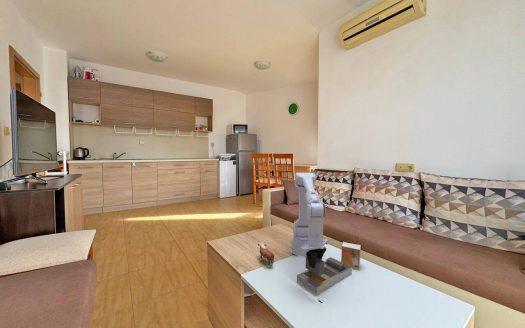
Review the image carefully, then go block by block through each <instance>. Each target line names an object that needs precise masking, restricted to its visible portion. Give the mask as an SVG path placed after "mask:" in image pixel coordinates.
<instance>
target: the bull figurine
mask: <svg viewBox="0 0 525 328" xmlns="http://www.w3.org/2000/svg"><path fill="white" fill-rule="evenodd" d="M257 246H259V253H260V255H259V256H260V259H259V262H261V261H263V258H264V261H265V262H266V261H267V269H270V266H271V265H274V263H275V253H274V252H272V251H271V250H270V249H269V248H267V243H264V242H260V243H257Z"/></svg>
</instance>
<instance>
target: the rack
mask: <svg viewBox="0 0 525 328" xmlns="http://www.w3.org/2000/svg"><path fill="white" fill-rule="evenodd" d="M332 258H333V257H332ZM333 259H335V258H333ZM323 261H324V260H323ZM352 271H353V269H352V267H351V266H349V265H346V264H344V270H343V271H341V272H340V271H338V270H336V269H334V268H332V267H330V266H329V265H327V264H326V260H325V261H324V274H322V275H321V276H318V275H316V274H315V273H313V272H311V271H310V270H308V269H306V270H304V271H302V272H300V273H298V274H296V283H297V284H298V285H300V286H301V287H303V288H305V289H306V290H307V291H309V292H310V293H312V294H313V295H314V296H316V297H318V296H319V295H320V294H322V293H324V292H326V291H327V290H328V289H330V288H332V287H333V286H335V285H336V284H338V283H340V282H341V281H342V280H344V279H346V278H347V277H349V276H351V275H352Z"/></svg>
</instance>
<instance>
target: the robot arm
mask: <svg viewBox="0 0 525 328" xmlns="http://www.w3.org/2000/svg"><path fill="white" fill-rule="evenodd" d="M316 181H317V176H316V173H315V172H297V171H296V173H294V187H295V188H296V189H298V218H297V219H296V220H294V221H293V227H292V233H293V236H292V237H291V240H290V242H291V244H290V249H291V250H290V251H289V252H290V253H291V254H293V255H294V256H297V257H298V256H301V257H306V256H307V258H308V262H309V266H310V267H312V268H315V261H316V257H317V258H319V259H321V260H323V257H324V255H325V253H326V252H327V247H325V245H326V246H327V245H329V239H327V238H324V218H325V217H326V216H327V215H326V214H327V213H326V211H327V210H326V205H325V202H323V201H322V200H321V198H320V195H319V193H318V191H316V190H315V187H314V186H315V185H316Z"/></svg>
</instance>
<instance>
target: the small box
mask: <svg viewBox="0 0 525 328" xmlns="http://www.w3.org/2000/svg"><path fill="white" fill-rule="evenodd" d="M361 247H362V246H361V244H355V243H349V242H345V241H343V242H342V245H341V254H340V257H341V258H340V262H342V263H344V264H346V265H349V266H351V267H352V270H356V271H360V267H361Z"/></svg>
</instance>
